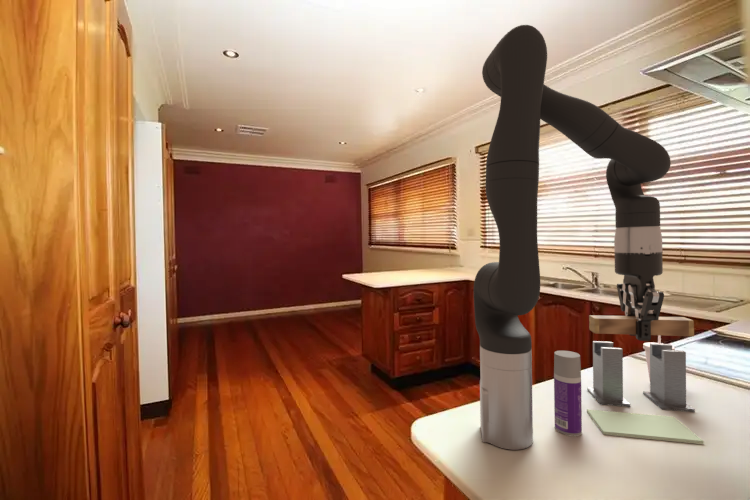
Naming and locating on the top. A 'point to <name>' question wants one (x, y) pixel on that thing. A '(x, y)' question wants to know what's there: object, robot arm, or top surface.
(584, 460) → the top surface
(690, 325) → the rail
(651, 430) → the mat
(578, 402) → the container
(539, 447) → the top surface
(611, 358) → the post left
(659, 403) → the post right
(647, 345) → the smoothie
